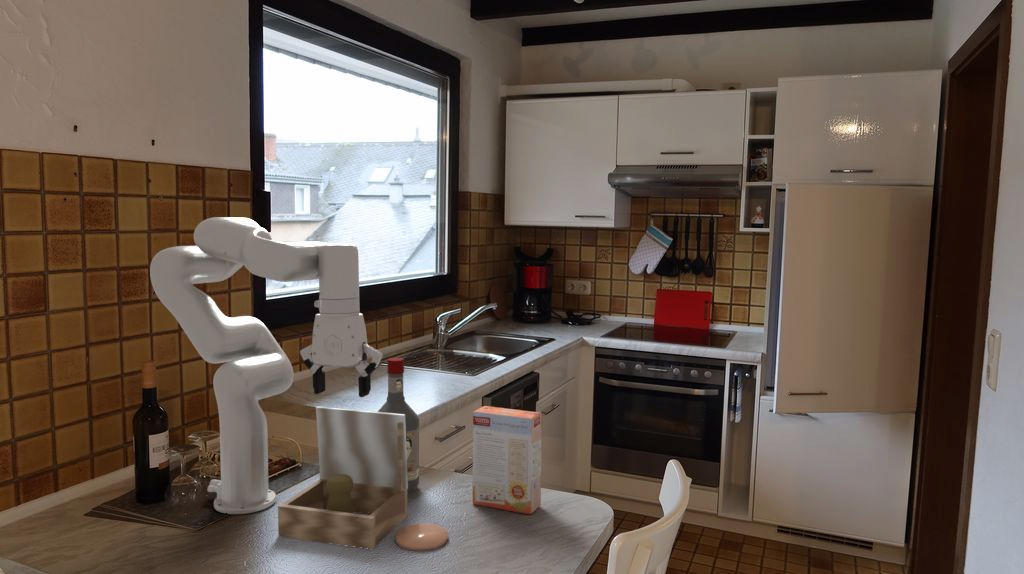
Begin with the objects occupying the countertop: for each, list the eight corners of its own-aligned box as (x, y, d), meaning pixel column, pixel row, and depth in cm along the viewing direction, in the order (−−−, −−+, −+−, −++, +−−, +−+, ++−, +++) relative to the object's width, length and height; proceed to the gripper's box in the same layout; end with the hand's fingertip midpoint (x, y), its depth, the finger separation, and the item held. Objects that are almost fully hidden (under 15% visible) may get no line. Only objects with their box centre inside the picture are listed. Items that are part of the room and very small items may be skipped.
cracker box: (541, 506, 158) (543, 411, 156) (530, 516, 152) (532, 418, 150) (484, 495, 164) (484, 403, 162) (471, 504, 158) (472, 410, 156)
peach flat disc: (386, 546, 137) (386, 541, 137) (408, 525, 147) (408, 520, 147) (436, 553, 135) (436, 548, 134) (455, 531, 144) (455, 526, 144)
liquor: (368, 486, 168) (368, 358, 165) (404, 478, 173) (404, 354, 171) (386, 498, 161) (386, 364, 158) (423, 490, 166) (423, 360, 163)
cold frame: (278, 536, 141) (276, 425, 139) (322, 504, 157) (320, 404, 155) (372, 549, 136) (371, 435, 134) (407, 515, 152) (407, 412, 149)
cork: (347, 538, 141) (347, 482, 140) (319, 535, 142) (318, 480, 141) (360, 525, 147) (360, 472, 146) (332, 522, 148) (332, 469, 147)
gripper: (289, 308, 139) (292, 395, 141) (371, 310, 135) (373, 401, 136) (310, 303, 147) (312, 387, 148) (389, 306, 142) (390, 392, 143)
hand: (341, 394), depth 142 cm, fingers open, 9 cm apart
